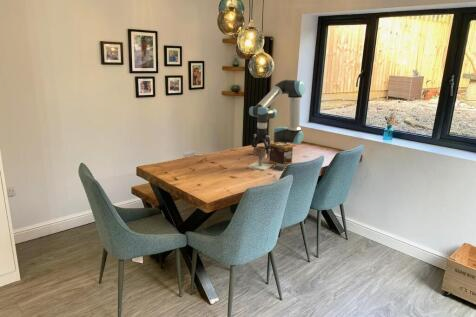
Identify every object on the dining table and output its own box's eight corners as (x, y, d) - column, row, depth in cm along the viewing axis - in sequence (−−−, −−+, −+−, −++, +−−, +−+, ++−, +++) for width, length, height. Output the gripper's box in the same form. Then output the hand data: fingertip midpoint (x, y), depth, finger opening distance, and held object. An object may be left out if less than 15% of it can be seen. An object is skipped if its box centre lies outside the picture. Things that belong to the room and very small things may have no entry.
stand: (277, 166, 284) (278, 163, 283) (286, 168, 281) (286, 164, 280) (274, 169, 278) (274, 165, 277) (282, 170, 275) (283, 166, 274)
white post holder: (256, 163, 292) (256, 152, 289) (272, 166, 285) (272, 154, 283) (248, 167, 280) (248, 156, 277) (264, 170, 273) (265, 159, 271)
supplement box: (283, 166, 286) (284, 147, 282) (269, 161, 297) (270, 143, 293) (291, 164, 292) (293, 145, 288) (278, 159, 304) (279, 141, 300)
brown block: (258, 153, 285) (258, 145, 283) (267, 154, 281) (267, 147, 280) (253, 155, 278) (254, 147, 277) (263, 156, 275) (263, 149, 273)
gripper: (247, 126, 276) (246, 155, 282) (272, 130, 266) (271, 160, 272) (251, 125, 282) (250, 153, 288) (276, 128, 273) (275, 157, 279)
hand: (260, 156), depth 280 cm, fingers closed on brown block, 8 cm apart
